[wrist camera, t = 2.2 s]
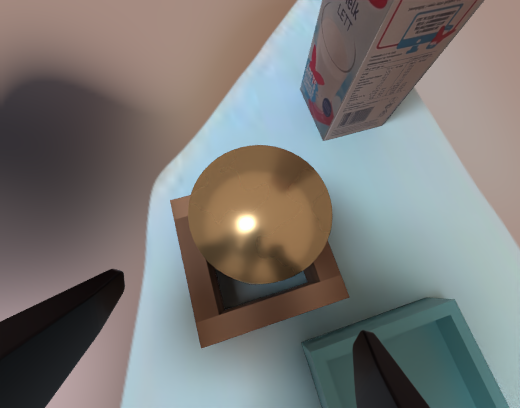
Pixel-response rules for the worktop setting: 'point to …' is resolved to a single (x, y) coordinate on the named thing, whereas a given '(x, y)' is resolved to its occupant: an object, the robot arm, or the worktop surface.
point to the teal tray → (410, 357)
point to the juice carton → (374, 57)
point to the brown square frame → (257, 311)
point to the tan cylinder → (260, 214)
